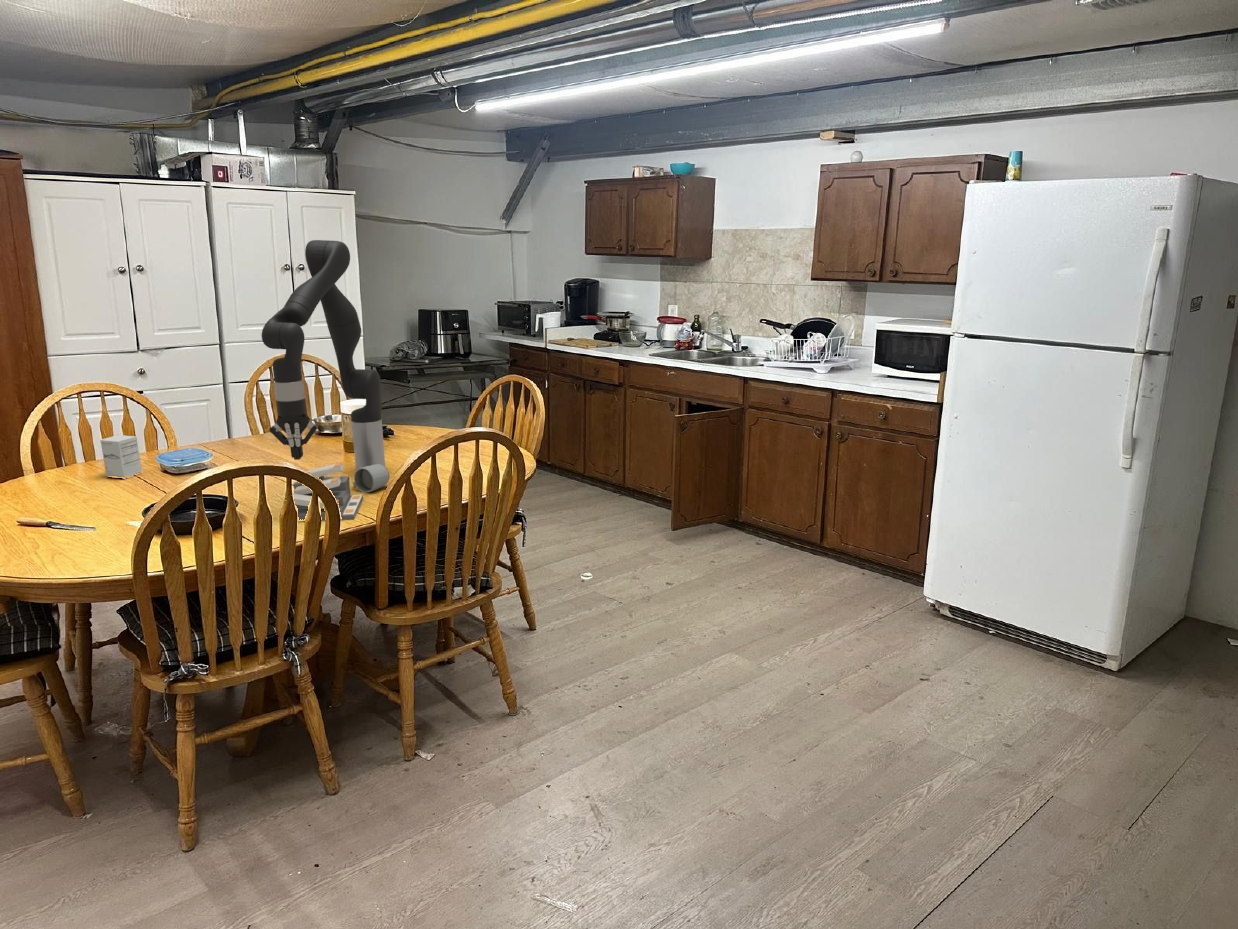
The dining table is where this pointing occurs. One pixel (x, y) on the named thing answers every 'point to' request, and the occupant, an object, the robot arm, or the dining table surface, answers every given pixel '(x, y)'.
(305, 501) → the block
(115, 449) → the supplement box
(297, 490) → the middle rocker
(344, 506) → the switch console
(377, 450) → the robot arm
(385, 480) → the ceramic mug
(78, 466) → the dining table surface
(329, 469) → the rear rocker
